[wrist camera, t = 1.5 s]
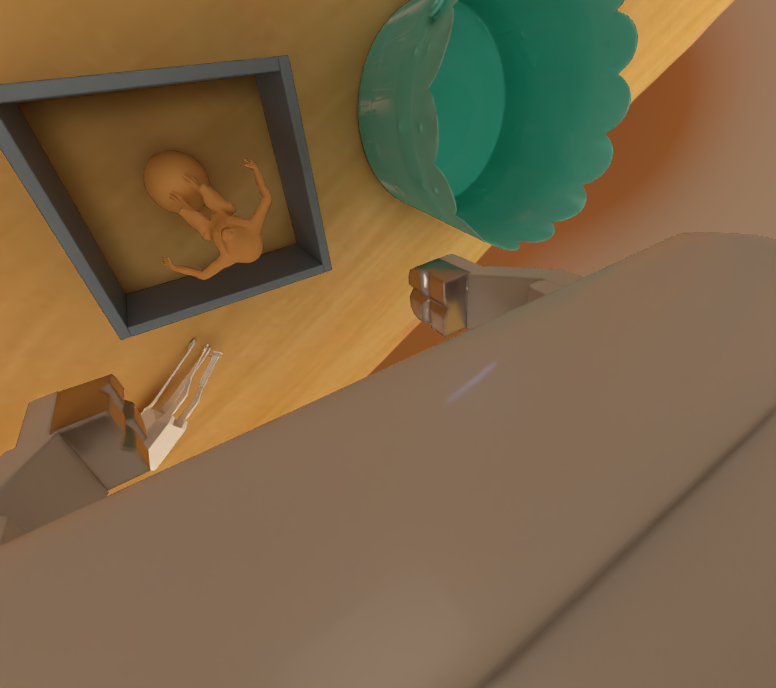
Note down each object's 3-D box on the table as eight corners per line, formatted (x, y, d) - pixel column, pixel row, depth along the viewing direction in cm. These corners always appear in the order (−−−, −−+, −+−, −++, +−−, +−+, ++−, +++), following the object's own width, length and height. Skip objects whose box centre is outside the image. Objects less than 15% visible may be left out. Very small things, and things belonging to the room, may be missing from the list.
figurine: (185, 109, 26) (220, 114, 17) (256, 176, 30) (312, 207, 22) (109, 203, 26) (105, 254, 18) (189, 257, 30) (218, 319, 22)
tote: (261, 62, 27) (288, 55, 23) (305, 249, 35) (332, 269, 31) (-7, 90, 21) (-39, 88, 17) (120, 305, 29) (120, 340, 25)
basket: (299, 87, 29) (386, 81, 20) (460, -93, 29) (623, -186, 20) (421, 251, 42) (507, 293, 33) (531, 127, 42) (649, 134, 33)
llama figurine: (165, 329, 38) (44, 507, 33) (214, 345, 30) (66, 580, 25) (182, 338, 39) (68, 511, 34) (233, 356, 32) (95, 581, 27)
